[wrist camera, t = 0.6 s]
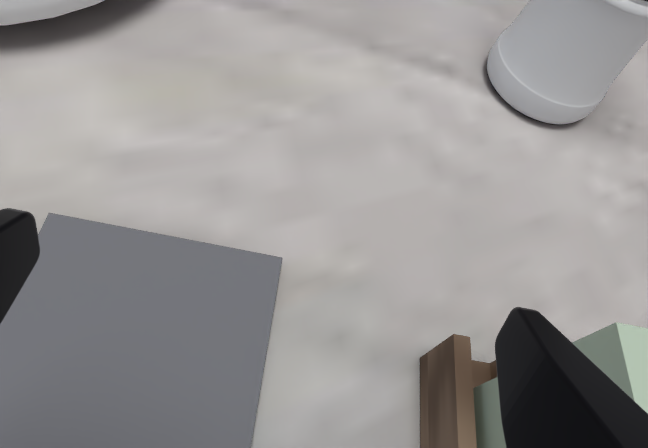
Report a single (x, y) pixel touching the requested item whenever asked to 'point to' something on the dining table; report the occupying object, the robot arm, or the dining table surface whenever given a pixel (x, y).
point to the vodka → (565, 55)
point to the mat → (135, 341)
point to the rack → (450, 394)
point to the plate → (38, 9)
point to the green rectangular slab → (604, 351)
